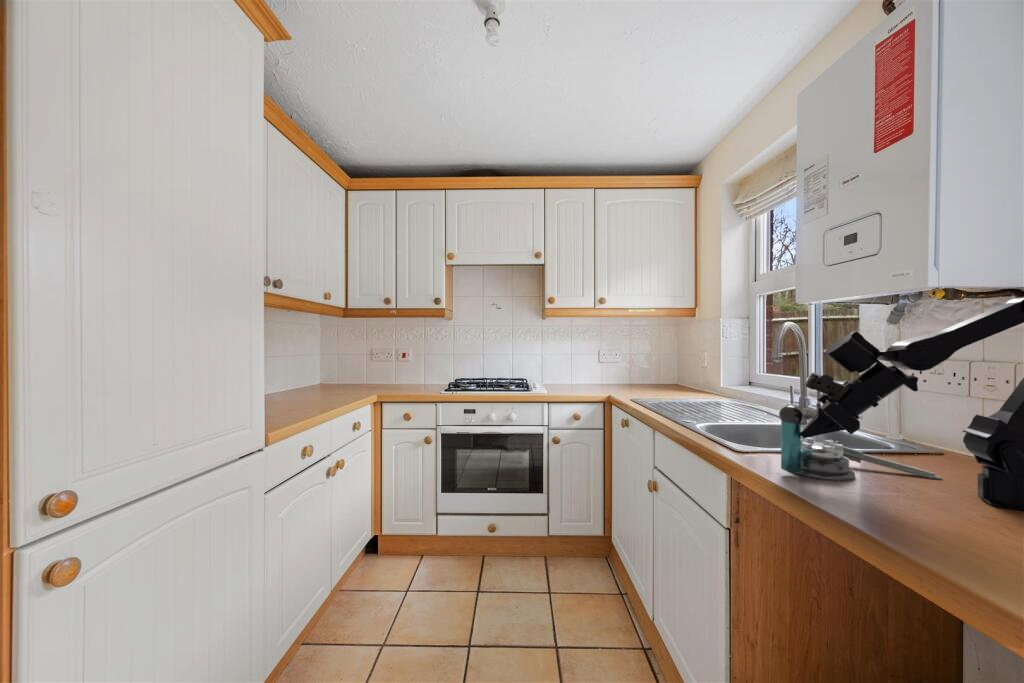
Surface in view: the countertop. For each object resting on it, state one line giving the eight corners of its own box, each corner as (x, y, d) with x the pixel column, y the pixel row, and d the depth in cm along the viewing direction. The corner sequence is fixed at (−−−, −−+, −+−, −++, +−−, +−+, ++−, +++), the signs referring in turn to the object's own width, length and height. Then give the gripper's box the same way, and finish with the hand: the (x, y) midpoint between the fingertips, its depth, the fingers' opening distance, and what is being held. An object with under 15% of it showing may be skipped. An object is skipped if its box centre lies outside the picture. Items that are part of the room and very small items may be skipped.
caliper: (824, 464, 100) (824, 438, 99) (824, 463, 100) (824, 437, 100) (943, 481, 87) (943, 452, 87) (941, 480, 88) (941, 451, 88)
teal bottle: (852, 468, 90) (852, 405, 90) (804, 477, 85) (805, 409, 85) (810, 457, 99) (810, 399, 99) (764, 464, 93) (764, 403, 93)
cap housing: (849, 468, 95) (850, 454, 95) (859, 485, 84) (859, 468, 84) (783, 459, 102) (783, 446, 102) (784, 474, 91) (784, 458, 91)
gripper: (828, 358, 93) (772, 402, 99) (837, 362, 78) (769, 414, 84) (874, 394, 89) (812, 438, 95) (893, 407, 73) (817, 458, 80)
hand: (802, 435), depth 89 cm, fingers closed, pressing on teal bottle
